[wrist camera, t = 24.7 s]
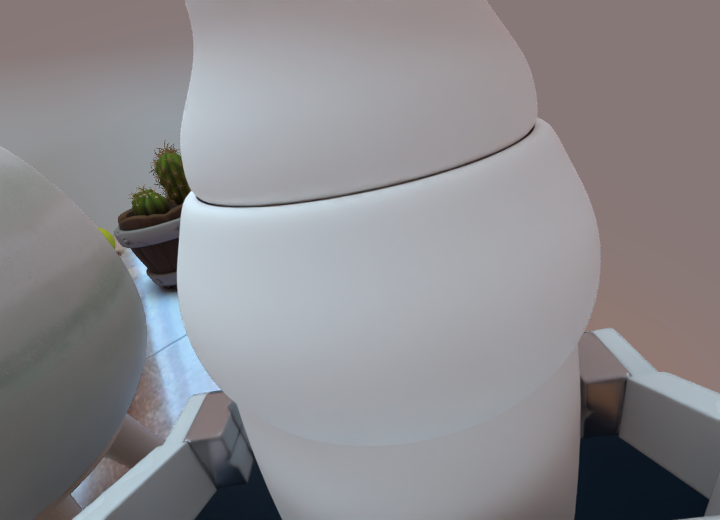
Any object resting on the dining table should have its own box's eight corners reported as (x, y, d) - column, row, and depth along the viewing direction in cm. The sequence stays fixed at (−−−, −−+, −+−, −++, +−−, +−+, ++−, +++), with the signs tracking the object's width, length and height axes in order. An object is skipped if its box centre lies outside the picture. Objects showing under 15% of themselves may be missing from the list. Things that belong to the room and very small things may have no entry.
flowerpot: (148, 312, 49) (66, 165, 41) (145, 277, 62) (81, 158, 53) (251, 269, 55) (198, 132, 46) (229, 245, 67) (184, 133, 59)
